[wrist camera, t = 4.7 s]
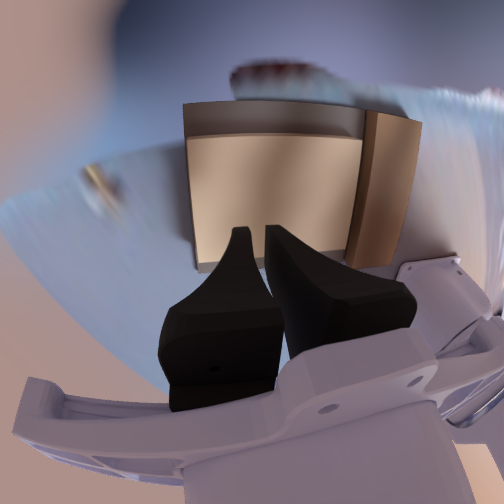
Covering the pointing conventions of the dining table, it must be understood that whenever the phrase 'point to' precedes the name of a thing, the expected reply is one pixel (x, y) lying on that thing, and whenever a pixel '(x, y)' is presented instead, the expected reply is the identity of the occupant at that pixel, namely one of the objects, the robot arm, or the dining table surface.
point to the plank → (272, 188)
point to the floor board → (371, 169)
